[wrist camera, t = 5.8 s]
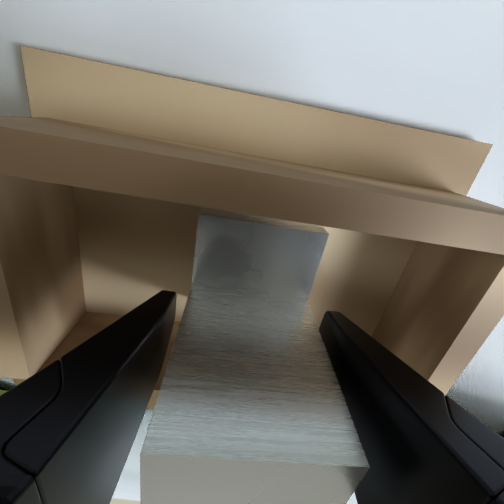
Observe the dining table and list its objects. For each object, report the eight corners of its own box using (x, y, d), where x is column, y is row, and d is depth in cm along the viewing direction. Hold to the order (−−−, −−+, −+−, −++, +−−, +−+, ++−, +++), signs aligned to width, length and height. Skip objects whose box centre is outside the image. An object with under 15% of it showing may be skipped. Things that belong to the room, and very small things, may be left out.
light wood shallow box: (362, 373, 15) (402, 454, 11) (76, 346, 13) (13, 430, 10) (478, 143, 10) (618, 155, 6) (35, 50, 8) (-132, -8, 4)
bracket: (285, 310, 12) (335, 519, 6) (195, 298, 12) (140, 512, 5) (313, 214, 10) (434, 369, 4) (206, 196, 10) (140, 337, 3)
